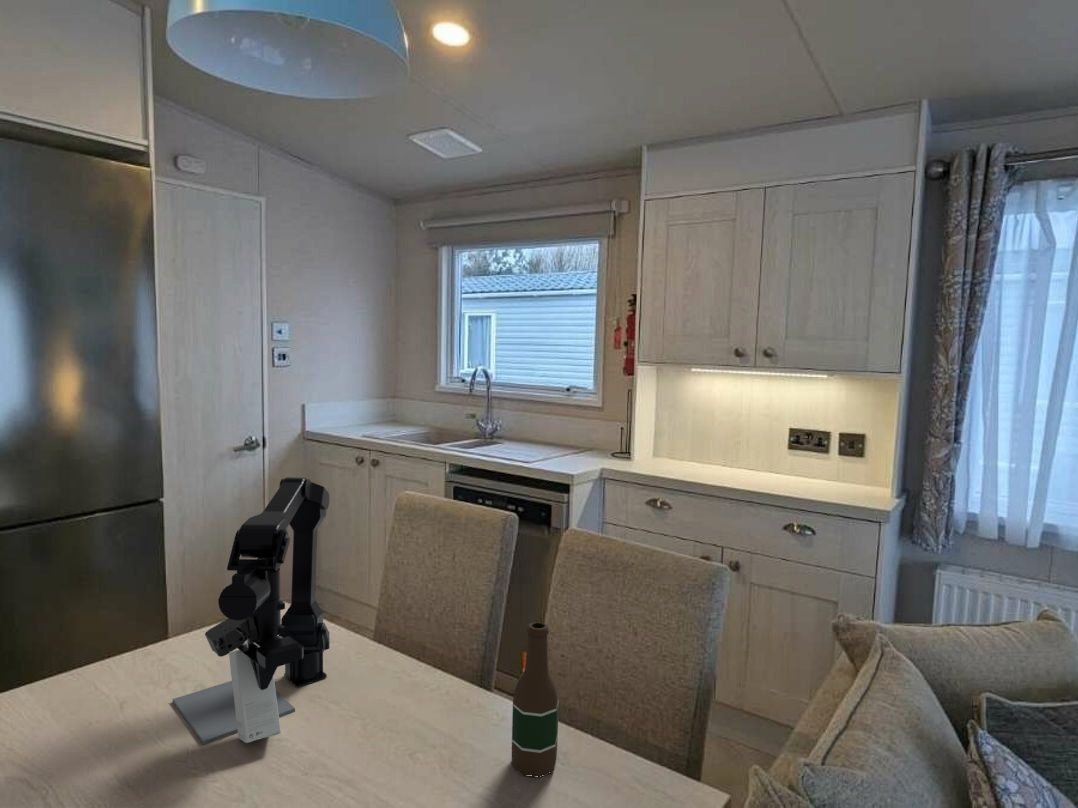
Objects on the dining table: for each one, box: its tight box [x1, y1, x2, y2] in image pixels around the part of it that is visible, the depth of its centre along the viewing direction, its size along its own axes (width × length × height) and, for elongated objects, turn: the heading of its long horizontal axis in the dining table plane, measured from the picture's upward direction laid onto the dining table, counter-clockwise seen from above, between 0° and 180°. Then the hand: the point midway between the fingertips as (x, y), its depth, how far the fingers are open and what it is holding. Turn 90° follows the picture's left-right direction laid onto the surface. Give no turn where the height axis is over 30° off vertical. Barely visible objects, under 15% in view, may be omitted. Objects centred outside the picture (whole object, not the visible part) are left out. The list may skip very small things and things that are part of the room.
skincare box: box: [228, 649, 282, 744], centre depth 117 cm, size 8×6×15 cm
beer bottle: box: [511, 621, 560, 778], centre depth 111 cm, size 8×8×24 cm
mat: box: [172, 680, 296, 745], centre depth 127 cm, size 16×18×1 cm
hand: (263, 688), depth 113 cm, fingers closed
